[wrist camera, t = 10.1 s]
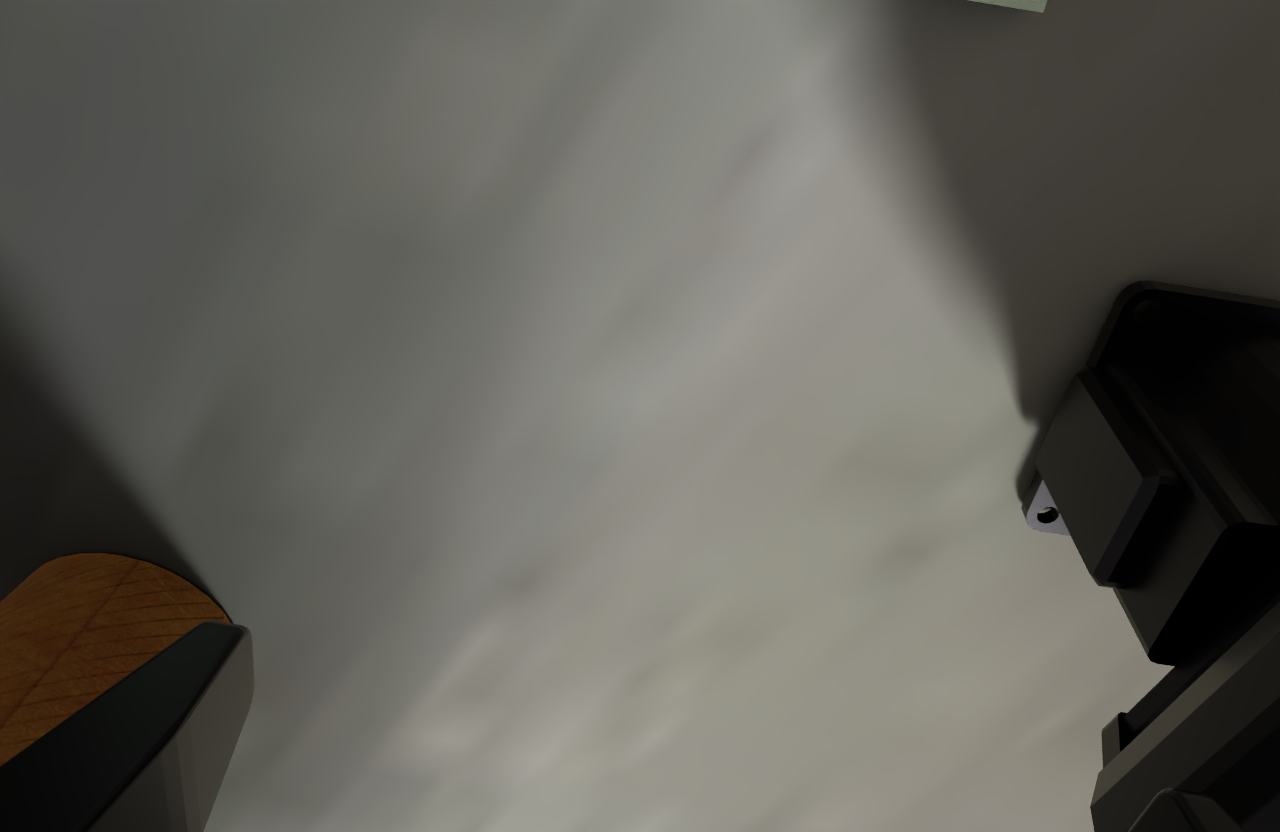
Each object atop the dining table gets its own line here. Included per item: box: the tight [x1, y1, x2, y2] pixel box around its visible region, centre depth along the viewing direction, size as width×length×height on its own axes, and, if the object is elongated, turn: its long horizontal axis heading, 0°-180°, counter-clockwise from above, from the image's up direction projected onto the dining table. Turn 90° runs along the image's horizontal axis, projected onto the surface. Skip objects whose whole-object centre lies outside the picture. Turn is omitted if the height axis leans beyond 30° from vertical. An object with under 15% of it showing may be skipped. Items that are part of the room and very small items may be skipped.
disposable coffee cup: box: [0, 553, 230, 766], centre depth 23 cm, size 10×10×12 cm
